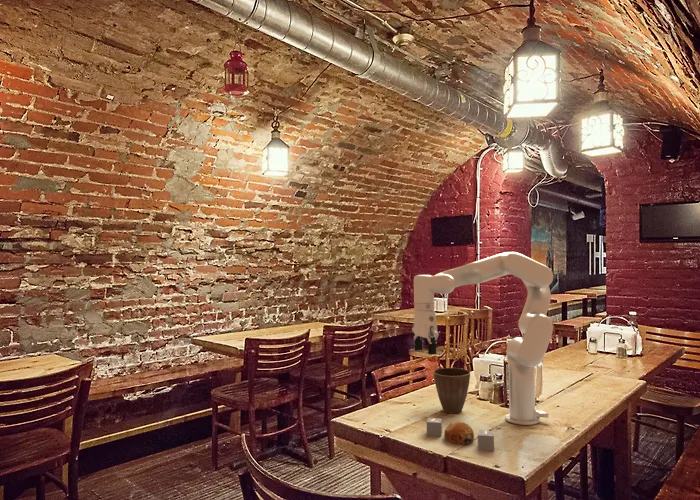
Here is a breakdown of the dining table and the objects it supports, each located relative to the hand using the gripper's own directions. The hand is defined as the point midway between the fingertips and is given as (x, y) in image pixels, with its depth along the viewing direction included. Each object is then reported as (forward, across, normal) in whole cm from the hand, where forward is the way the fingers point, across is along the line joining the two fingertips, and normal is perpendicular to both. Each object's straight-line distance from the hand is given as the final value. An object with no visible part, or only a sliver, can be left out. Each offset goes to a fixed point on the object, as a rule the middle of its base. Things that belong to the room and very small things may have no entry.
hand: (425, 352), depth 202 cm
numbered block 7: (+27, -12, +4) cm, 30 cm away
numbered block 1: (+27, -31, -4) cm, 41 cm away
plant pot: (+27, +9, -18) cm, 34 cm away
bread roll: (+27, -20, 0) cm, 34 cm away
